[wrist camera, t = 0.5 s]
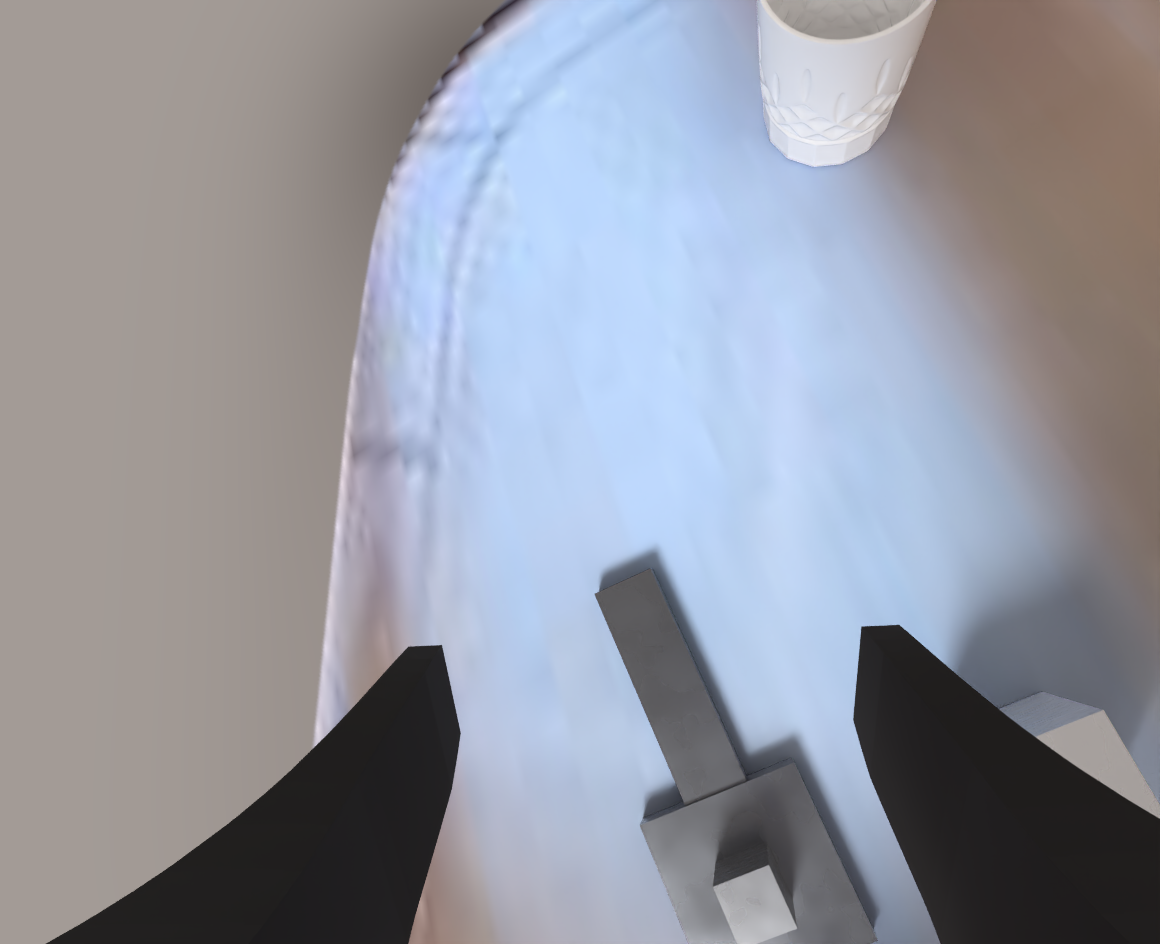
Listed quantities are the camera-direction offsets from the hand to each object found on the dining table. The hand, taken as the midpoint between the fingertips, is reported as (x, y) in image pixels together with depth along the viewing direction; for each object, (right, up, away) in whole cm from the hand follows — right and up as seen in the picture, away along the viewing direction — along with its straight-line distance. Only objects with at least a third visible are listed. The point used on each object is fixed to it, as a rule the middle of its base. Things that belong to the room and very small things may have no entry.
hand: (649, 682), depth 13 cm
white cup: (+13, +24, +28) cm, 39 cm away
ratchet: (+5, -11, +23) cm, 26 cm away
